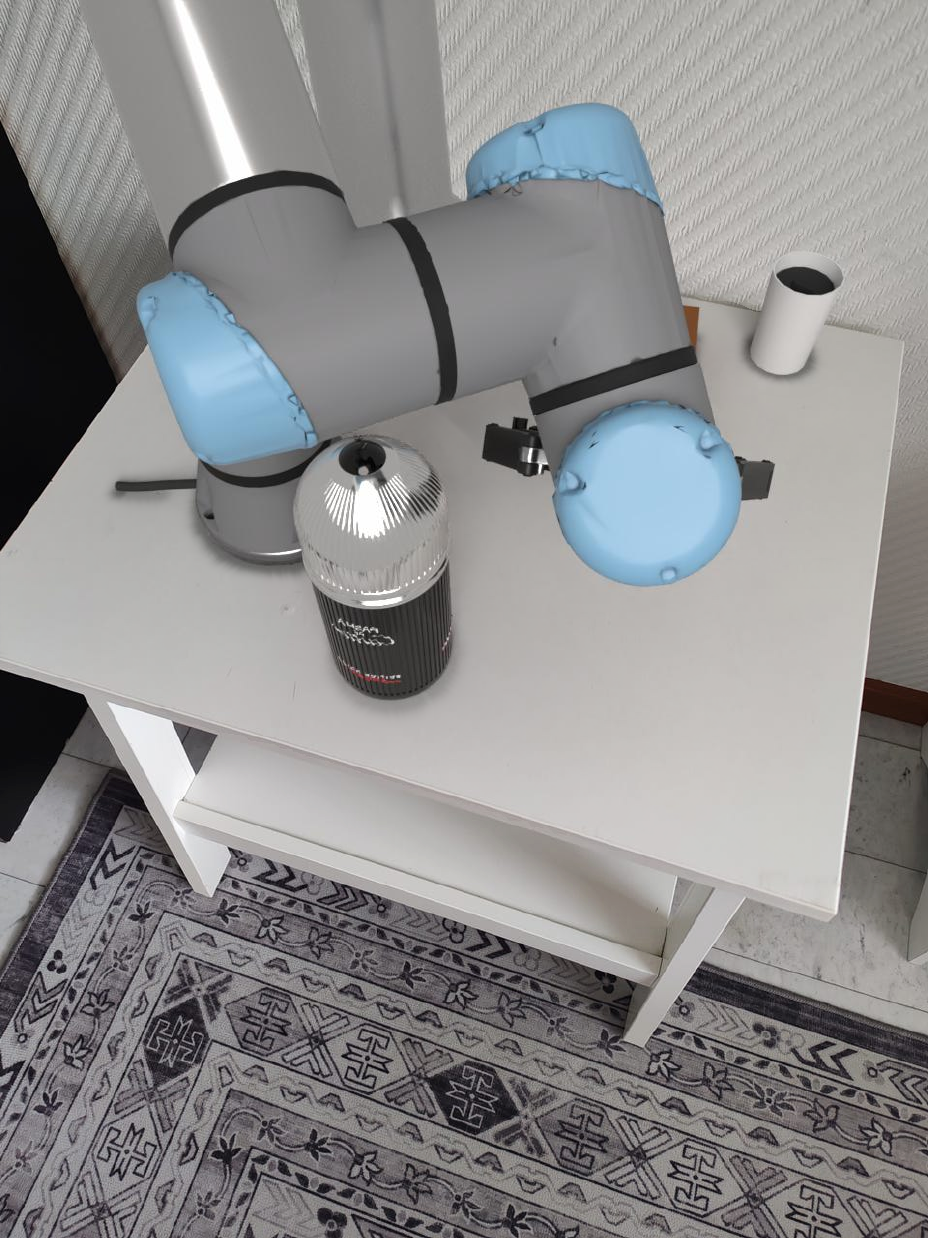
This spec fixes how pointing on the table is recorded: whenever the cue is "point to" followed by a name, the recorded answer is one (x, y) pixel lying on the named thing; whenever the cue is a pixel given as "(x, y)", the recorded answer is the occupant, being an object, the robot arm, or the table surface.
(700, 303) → the table surface
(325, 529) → the spray bottle
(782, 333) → the white cylindrical cup
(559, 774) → the table surface
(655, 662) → the table surface
